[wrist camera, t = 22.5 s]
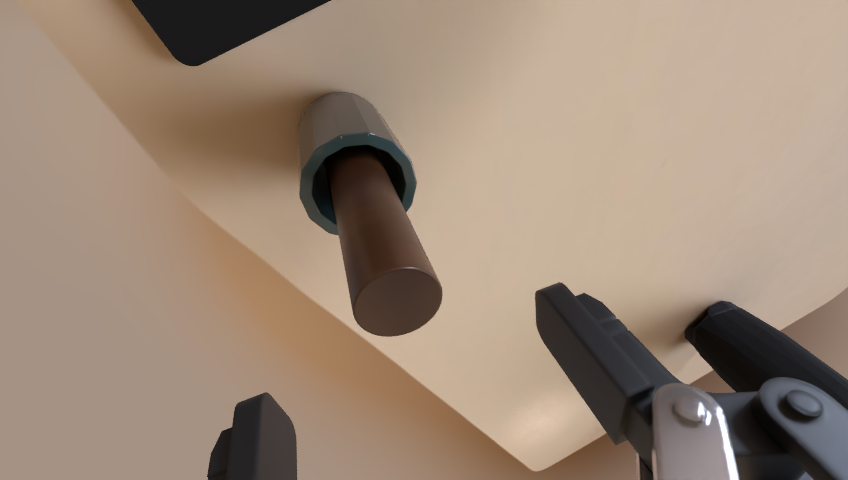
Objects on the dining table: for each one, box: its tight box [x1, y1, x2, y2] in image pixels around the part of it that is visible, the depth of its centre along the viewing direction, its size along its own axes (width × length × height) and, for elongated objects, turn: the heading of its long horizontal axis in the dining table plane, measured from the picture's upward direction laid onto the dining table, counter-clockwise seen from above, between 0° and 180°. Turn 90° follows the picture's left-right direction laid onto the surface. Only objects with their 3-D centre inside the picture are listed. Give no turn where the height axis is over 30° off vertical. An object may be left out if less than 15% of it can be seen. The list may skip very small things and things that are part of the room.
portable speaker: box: [685, 301, 848, 410], centre depth 47 cm, size 9×9×20 cm
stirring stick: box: [325, 145, 442, 337], centre depth 19 cm, size 3×3×16 cm
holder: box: [298, 92, 417, 235], centre depth 22 cm, size 6×6×8 cm
